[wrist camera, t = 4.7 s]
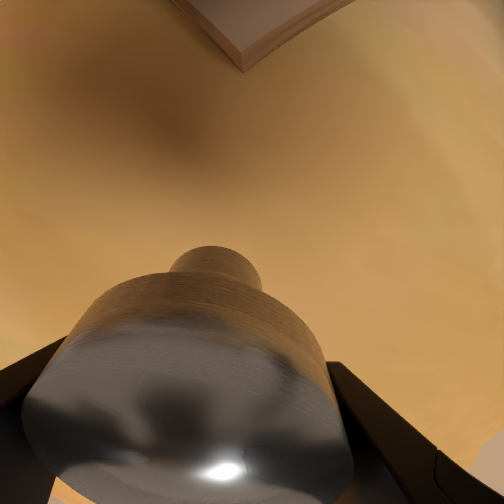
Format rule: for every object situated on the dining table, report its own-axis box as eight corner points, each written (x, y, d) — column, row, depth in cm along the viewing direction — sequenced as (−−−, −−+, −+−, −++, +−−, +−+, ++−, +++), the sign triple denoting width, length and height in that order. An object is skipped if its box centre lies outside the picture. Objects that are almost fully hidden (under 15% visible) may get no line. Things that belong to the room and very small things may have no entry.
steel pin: (330, 299, 11) (402, 480, 4) (210, 378, 12) (191, 543, 5) (221, 169, 9) (153, 273, 3) (102, 279, 10) (-9, 430, 4)
